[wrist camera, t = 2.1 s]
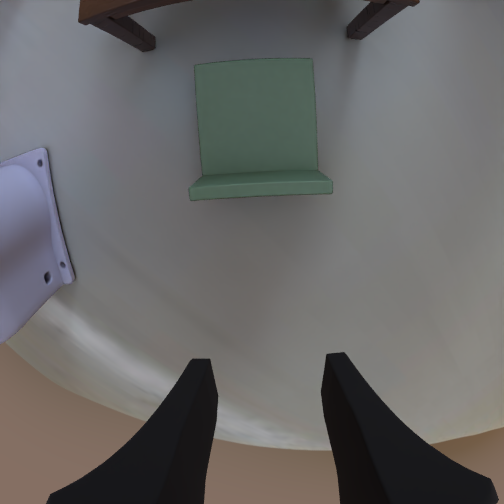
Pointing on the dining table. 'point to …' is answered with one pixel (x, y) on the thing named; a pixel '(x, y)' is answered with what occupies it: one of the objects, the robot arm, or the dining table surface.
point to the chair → (257, 129)
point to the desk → (126, 3)
